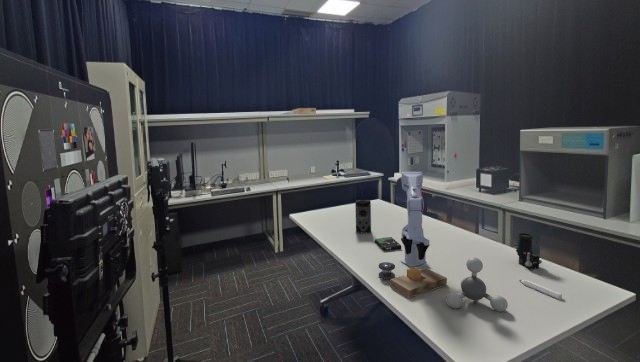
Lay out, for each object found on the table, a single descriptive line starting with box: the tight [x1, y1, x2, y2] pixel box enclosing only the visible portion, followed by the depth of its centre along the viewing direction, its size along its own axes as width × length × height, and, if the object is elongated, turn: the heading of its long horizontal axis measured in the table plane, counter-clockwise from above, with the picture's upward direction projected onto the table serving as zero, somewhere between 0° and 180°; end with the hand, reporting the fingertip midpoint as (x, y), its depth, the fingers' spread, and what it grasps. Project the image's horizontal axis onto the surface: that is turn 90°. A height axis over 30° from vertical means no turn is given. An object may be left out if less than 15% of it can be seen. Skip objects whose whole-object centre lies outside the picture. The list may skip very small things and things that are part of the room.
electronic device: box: [355, 199, 372, 234], centre depth 204 cm, size 9×6×20 cm, turn 81°
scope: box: [515, 232, 543, 271], centre depth 149 cm, size 8×14×10 cm
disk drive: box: [374, 236, 402, 252], centre depth 181 cm, size 10×3×15 cm
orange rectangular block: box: [406, 266, 422, 282], centre depth 136 cm, size 4×4×6 cm
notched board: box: [390, 268, 448, 299], centre depth 134 cm, size 20×11×3 cm, turn 117°
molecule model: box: [445, 257, 508, 313], centre depth 119 cm, size 20×16×20 cm
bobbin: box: [378, 261, 396, 281], centre depth 143 cm, size 7×7×5 cm
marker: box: [518, 279, 563, 300], centre depth 127 cm, size 3×2×16 cm
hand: (414, 256), depth 140 cm, fingers open, 7 cm apart
